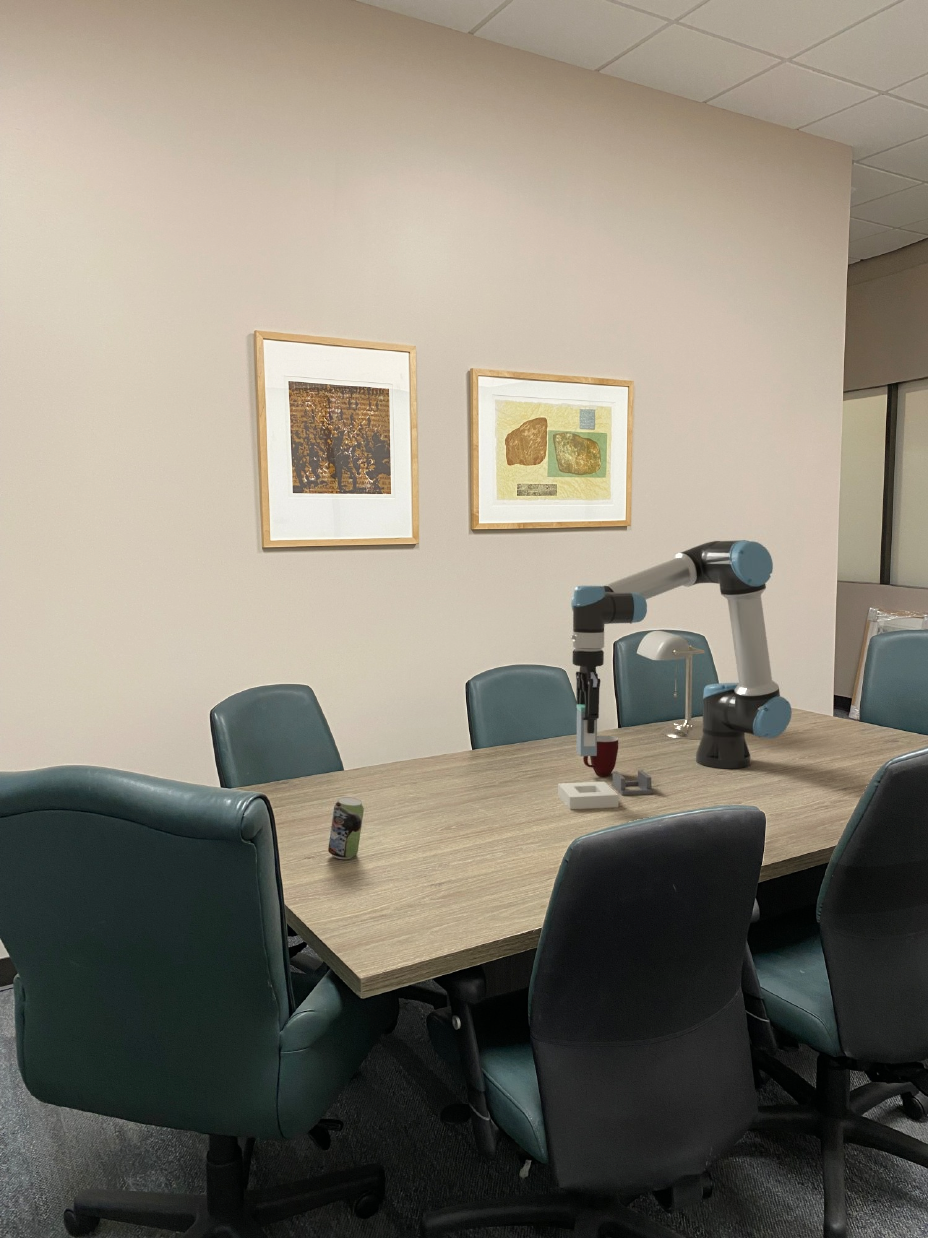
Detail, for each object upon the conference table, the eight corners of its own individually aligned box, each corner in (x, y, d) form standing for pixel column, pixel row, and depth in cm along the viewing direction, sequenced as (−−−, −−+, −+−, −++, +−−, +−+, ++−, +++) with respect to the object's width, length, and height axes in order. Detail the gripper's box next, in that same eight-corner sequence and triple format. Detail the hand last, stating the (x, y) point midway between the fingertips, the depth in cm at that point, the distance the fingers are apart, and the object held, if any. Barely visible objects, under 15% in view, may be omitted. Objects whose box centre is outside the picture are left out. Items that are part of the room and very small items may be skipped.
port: (603, 793, 223) (603, 781, 223) (618, 807, 211) (618, 795, 211) (557, 795, 221) (557, 783, 221) (569, 809, 210) (569, 797, 209)
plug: (592, 751, 217) (593, 704, 216) (597, 755, 213) (597, 707, 212) (575, 752, 217) (576, 704, 216) (580, 756, 213) (581, 707, 212)
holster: (640, 784, 231) (640, 769, 231) (652, 794, 222) (652, 778, 222) (611, 785, 230) (611, 770, 230) (622, 795, 221) (622, 779, 221)
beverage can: (329, 852, 182) (328, 795, 181) (364, 850, 182) (364, 794, 181) (327, 863, 176) (326, 804, 174) (364, 861, 176) (363, 803, 175)
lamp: (631, 726, 303) (632, 629, 300) (699, 724, 306) (700, 628, 303) (656, 743, 277) (657, 637, 274) (730, 741, 280) (732, 636, 277)
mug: (597, 781, 234) (597, 744, 233) (575, 775, 240) (576, 739, 239) (624, 775, 240) (624, 739, 239) (602, 769, 247) (603, 734, 246)
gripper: (564, 645, 221) (563, 736, 223) (582, 653, 204) (581, 752, 206) (593, 645, 222) (592, 736, 224) (613, 653, 205) (611, 751, 207)
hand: (586, 743), depth 215 cm, fingers closed on plug, 4 cm apart
